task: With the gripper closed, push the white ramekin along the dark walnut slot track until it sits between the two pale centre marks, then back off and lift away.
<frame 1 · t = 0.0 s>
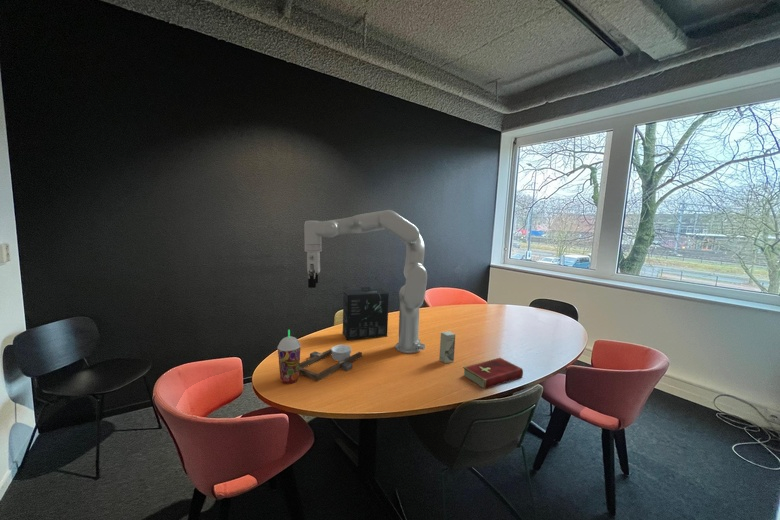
hand: (313, 285, 147), 31 cm above the table, tool pointing down, fingers open, 9 cm apart
ramekin: (341, 358, 144), on the table
box: (446, 361, 143), on the table
hardcover book: (492, 377, 130), on the table
beam track: (330, 362, 138), on the table
headset box: (364, 335, 173), on the table
smoothie: (289, 380, 123), on the table
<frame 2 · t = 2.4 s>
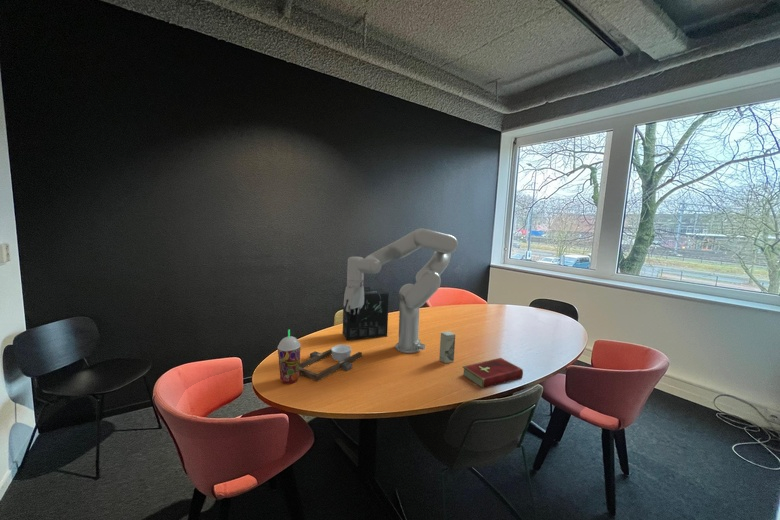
hand: (353, 321, 150), 14 cm above the table, tool pointing down, fingers closed
nothing on the table moved.
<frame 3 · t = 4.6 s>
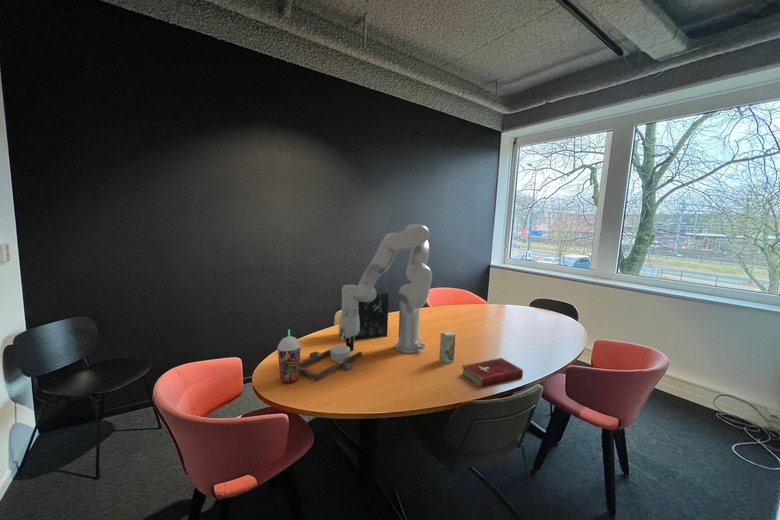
hand: (349, 350, 149), 1 cm above the table, tool pointing down, fingers closed
ramekin: (340, 358, 143), on the table, touching gripper
everything else where it was.
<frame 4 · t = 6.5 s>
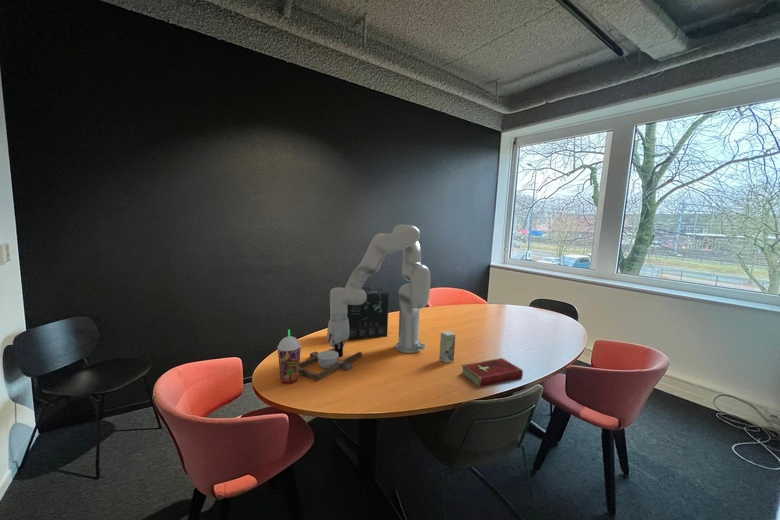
hand: (338, 356, 142), 1 cm above the table, tool pointing down, fingers closed
ramekin: (328, 364, 137), on the table, touching gripper
everything else where it was.
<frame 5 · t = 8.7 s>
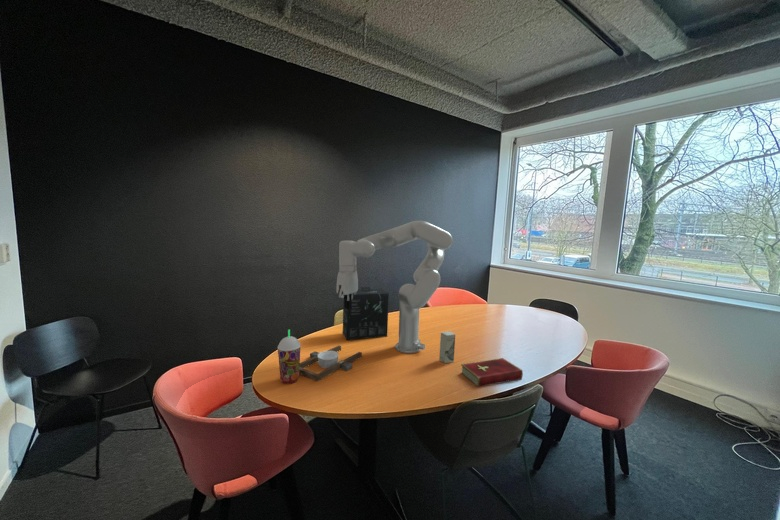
hand: (348, 308, 145), 22 cm above the table, tool pointing down, fingers closed
ramekin: (328, 364, 137), on the table
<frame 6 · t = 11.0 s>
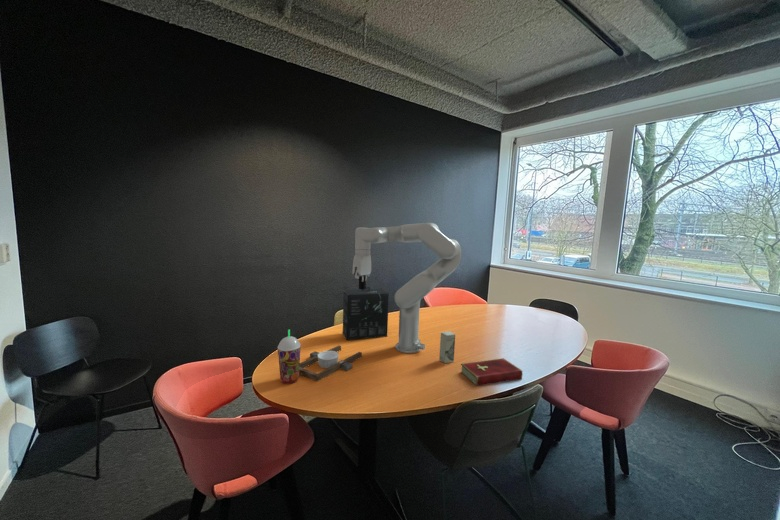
hand: (362, 288, 161), 27 cm above the table, tool pointing down, fingers closed
at the end: ramekin inside the target area (1.4 cm from its centre), on the table; ramekin tilted 0° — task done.
